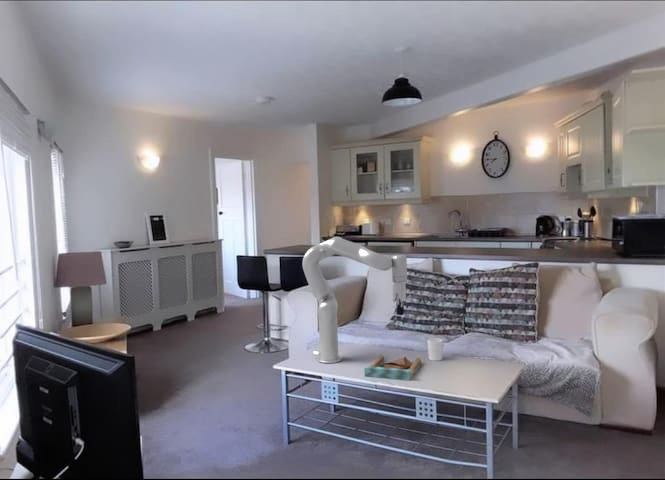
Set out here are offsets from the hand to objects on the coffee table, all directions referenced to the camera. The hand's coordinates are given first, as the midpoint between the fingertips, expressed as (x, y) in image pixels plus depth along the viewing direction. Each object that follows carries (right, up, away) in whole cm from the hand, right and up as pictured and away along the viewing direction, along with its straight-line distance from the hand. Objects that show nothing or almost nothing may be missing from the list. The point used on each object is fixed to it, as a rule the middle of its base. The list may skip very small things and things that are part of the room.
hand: (400, 314), depth 252 cm
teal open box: (-5, -24, -16) cm, 29 cm away
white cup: (+18, -23, -1) cm, 29 cm away
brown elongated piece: (-2, -25, -14) cm, 28 cm away
